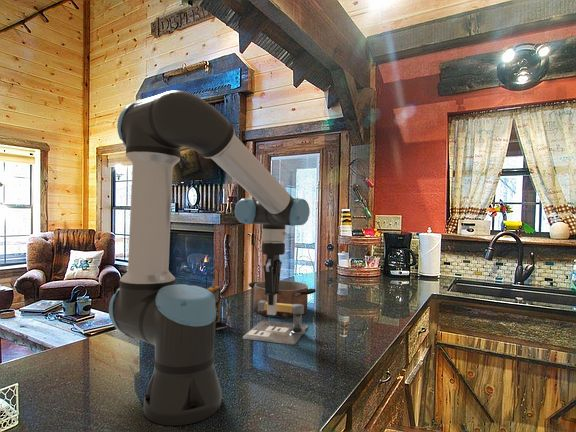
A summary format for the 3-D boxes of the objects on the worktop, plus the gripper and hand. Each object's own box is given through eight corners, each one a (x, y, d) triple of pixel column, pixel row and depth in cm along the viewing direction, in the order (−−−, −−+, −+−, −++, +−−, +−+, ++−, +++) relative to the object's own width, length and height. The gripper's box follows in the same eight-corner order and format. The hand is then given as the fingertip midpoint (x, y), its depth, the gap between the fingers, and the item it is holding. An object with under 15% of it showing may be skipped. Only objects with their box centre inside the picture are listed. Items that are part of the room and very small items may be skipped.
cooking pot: (235, 311, 148) (236, 284, 149) (264, 300, 168) (265, 277, 168) (300, 322, 134) (301, 293, 134) (323, 310, 154) (324, 285, 154)
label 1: (267, 338, 113) (267, 336, 113) (246, 335, 115) (247, 334, 115) (272, 333, 118) (272, 331, 118) (252, 331, 120) (252, 329, 120)
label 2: (285, 333, 118) (285, 332, 118) (264, 331, 120) (264, 329, 120) (288, 329, 123) (288, 327, 123) (269, 327, 124) (269, 325, 124)
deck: (298, 345, 110) (299, 322, 110) (242, 338, 114) (243, 316, 114) (310, 327, 128) (310, 307, 128) (261, 322, 132) (262, 303, 132)
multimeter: (227, 332, 120) (229, 272, 120) (199, 329, 122) (201, 270, 122) (241, 320, 134) (243, 266, 135) (216, 318, 136) (218, 265, 137)
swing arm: (304, 312, 121) (305, 303, 121) (302, 315, 117) (302, 306, 117) (261, 308, 125) (261, 300, 125) (257, 310, 121) (257, 302, 121)
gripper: (279, 243, 110) (277, 320, 110) (289, 241, 123) (287, 310, 123) (256, 242, 112) (253, 318, 112) (268, 240, 125) (266, 308, 125)
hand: (271, 314), depth 117 cm, fingers closed
